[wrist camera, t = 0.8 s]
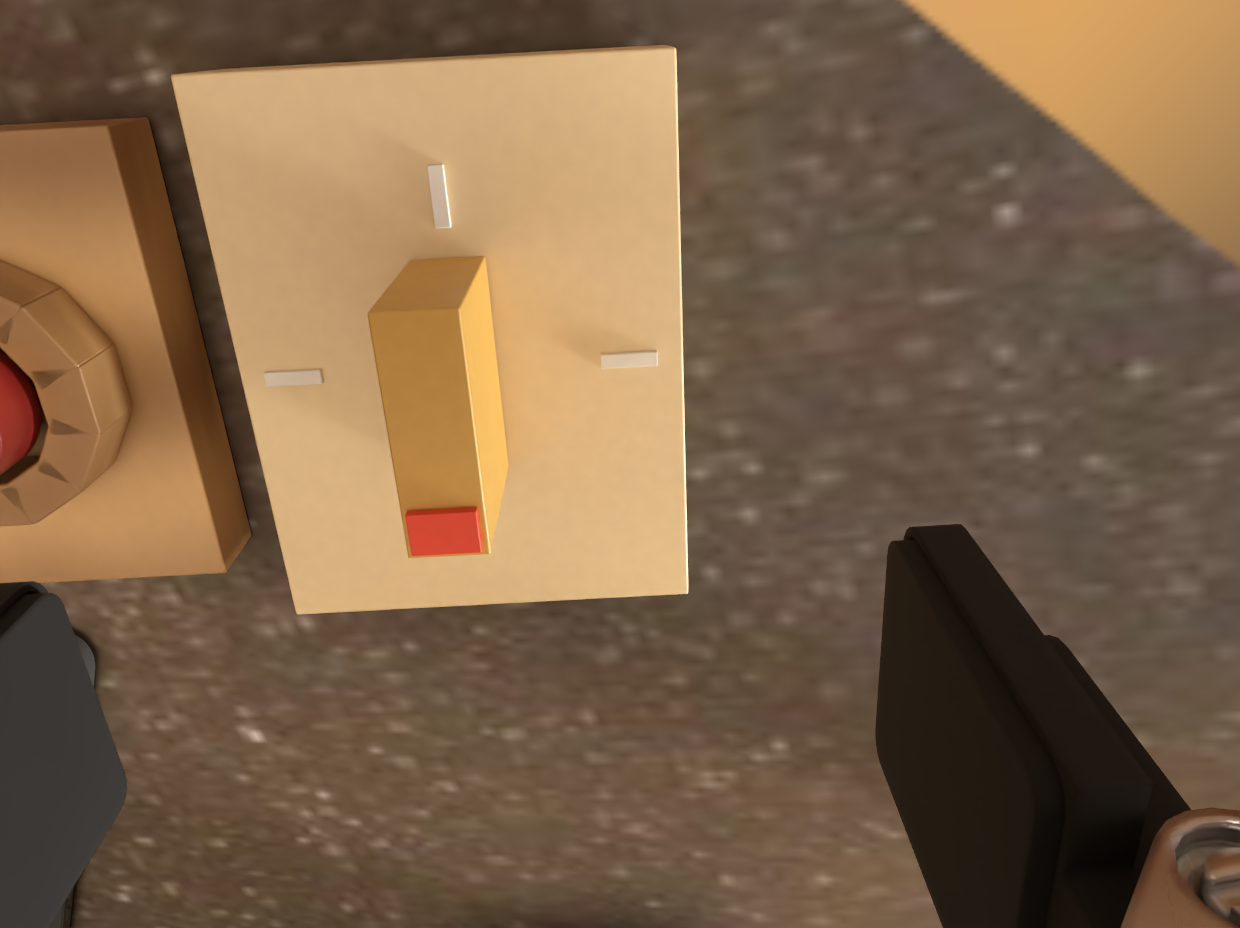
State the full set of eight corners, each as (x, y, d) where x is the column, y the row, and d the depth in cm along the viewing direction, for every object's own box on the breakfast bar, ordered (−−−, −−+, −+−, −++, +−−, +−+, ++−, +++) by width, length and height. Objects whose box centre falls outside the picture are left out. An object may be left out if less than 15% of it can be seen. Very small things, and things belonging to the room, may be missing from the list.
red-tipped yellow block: (409, 259, 22) (363, 315, 18) (485, 255, 22) (458, 310, 18) (439, 470, 24) (405, 565, 20) (509, 466, 24) (489, 560, 20)
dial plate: (219, 68, 23) (165, 75, 20) (667, 44, 23) (676, 47, 20) (324, 560, 29) (294, 618, 26) (679, 540, 29) (689, 597, 26)
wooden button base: (-210, 136, 23) (-358, 156, 20) (148, 116, 23) (67, 133, 20) (-43, 551, 29) (-136, 627, 25) (252, 535, 29) (202, 609, 25)
